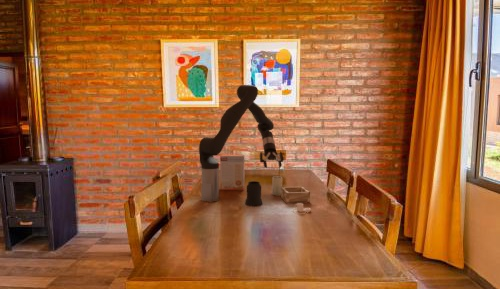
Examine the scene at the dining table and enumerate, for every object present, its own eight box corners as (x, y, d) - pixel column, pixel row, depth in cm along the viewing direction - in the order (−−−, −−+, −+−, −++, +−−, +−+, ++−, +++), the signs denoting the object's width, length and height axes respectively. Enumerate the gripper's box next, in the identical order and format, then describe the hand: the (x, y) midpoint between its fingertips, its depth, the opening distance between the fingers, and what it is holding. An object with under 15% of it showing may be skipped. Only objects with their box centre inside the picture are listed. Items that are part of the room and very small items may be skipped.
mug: (261, 206, 160) (262, 184, 158) (243, 206, 161) (243, 184, 160) (264, 200, 171) (264, 179, 170) (247, 199, 173) (247, 178, 171)
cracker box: (244, 188, 196) (244, 154, 193) (243, 191, 190) (243, 156, 188) (222, 187, 197) (221, 154, 195) (220, 190, 191) (220, 155, 189)
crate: (309, 202, 167) (310, 192, 167) (286, 203, 165) (286, 193, 165) (302, 196, 180) (302, 186, 179) (280, 196, 178) (280, 187, 177)
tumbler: (280, 195, 180) (280, 178, 179) (270, 194, 182) (271, 177, 181) (283, 193, 185) (283, 176, 184) (273, 192, 187) (274, 175, 186)
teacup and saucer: (312, 211, 154) (312, 203, 153) (305, 216, 147) (306, 207, 147) (296, 208, 159) (296, 200, 158) (288, 212, 152) (288, 204, 152)
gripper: (258, 142, 197) (262, 163, 187) (281, 142, 200) (286, 163, 190) (257, 149, 203) (260, 171, 193) (279, 149, 206) (283, 170, 196)
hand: (273, 167), depth 192 cm, fingers open, 8 cm apart
